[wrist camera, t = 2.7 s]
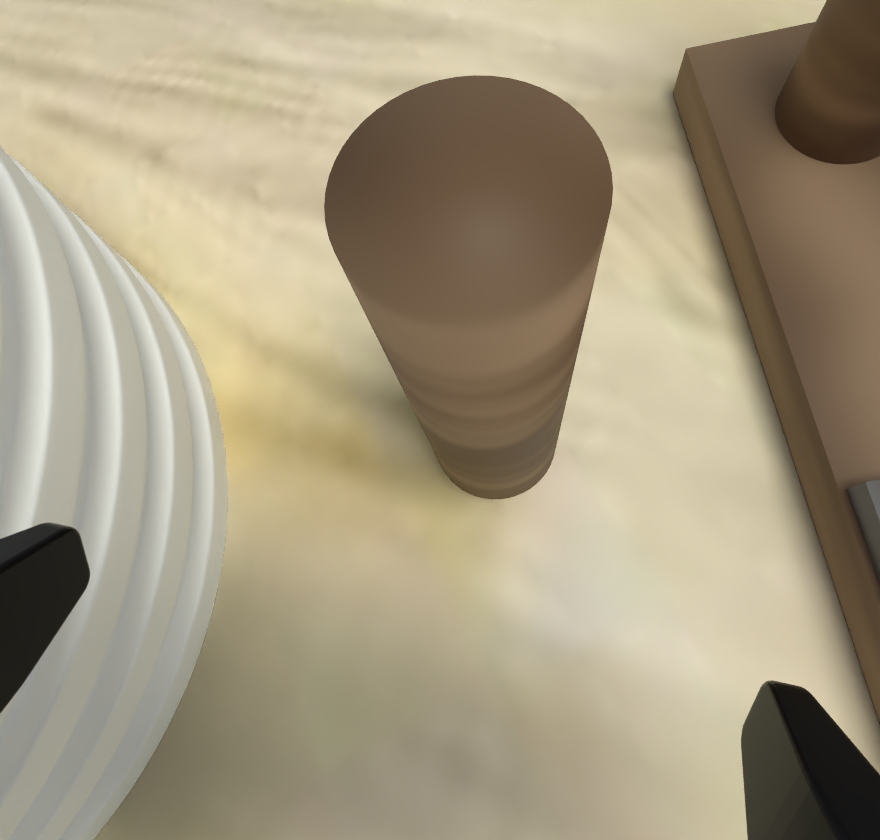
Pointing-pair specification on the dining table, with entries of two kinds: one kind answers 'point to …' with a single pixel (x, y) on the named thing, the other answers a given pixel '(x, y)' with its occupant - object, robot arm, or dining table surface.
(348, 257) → the stool leg
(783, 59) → the peg board
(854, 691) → the dining table surface
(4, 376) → the plate stack
